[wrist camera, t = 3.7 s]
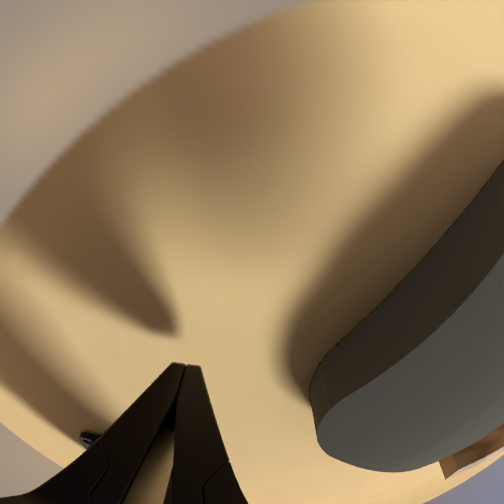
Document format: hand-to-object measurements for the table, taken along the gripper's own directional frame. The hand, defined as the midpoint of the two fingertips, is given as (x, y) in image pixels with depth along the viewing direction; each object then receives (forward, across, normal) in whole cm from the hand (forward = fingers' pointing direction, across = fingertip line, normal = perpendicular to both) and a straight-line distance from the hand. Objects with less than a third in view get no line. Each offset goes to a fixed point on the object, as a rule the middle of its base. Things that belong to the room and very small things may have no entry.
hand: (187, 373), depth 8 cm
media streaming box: (+2, -13, 0) cm, 13 cm away
